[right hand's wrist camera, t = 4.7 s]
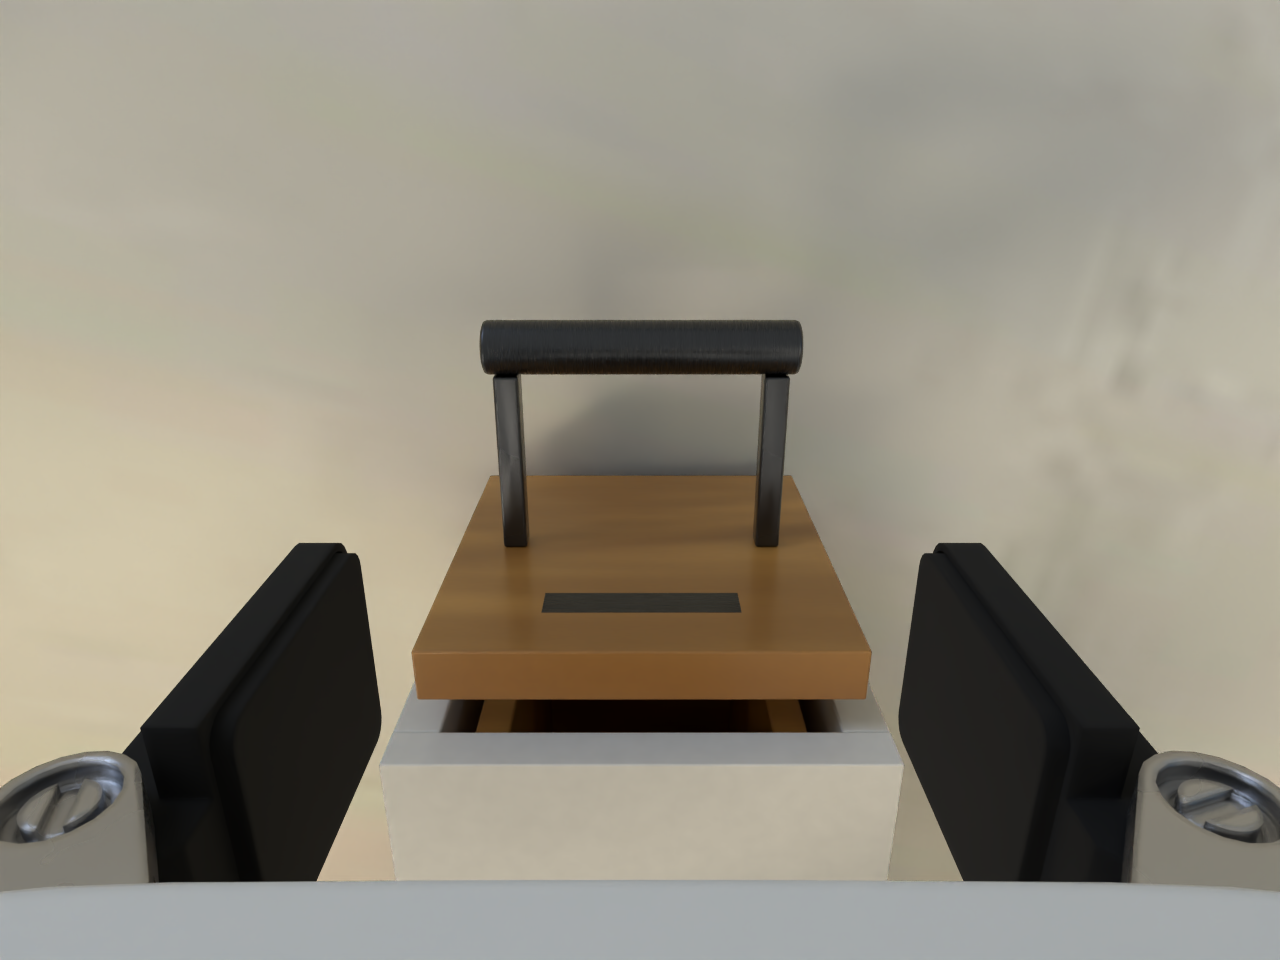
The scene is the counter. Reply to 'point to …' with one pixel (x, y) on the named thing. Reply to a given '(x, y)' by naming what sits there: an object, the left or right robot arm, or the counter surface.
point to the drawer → (641, 563)
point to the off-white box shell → (641, 799)
